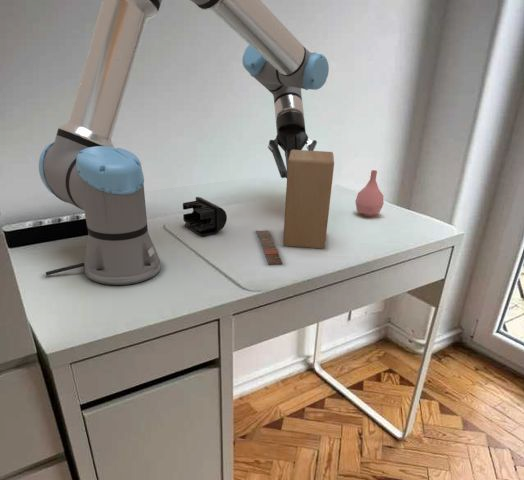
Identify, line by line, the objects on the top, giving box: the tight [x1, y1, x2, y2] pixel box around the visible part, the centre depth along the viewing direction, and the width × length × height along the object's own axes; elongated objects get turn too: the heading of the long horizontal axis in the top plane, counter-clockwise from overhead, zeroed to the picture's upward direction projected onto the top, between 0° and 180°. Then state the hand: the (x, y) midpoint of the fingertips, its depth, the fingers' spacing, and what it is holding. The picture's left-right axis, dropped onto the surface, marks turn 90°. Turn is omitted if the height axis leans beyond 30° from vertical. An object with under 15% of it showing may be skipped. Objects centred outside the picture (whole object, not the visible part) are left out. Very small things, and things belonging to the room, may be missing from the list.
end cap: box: [182, 196, 228, 238], centre depth 125 cm, size 10×7×7 cm
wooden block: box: [282, 149, 335, 249], centre depth 117 cm, size 10×10×20 cm
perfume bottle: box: [355, 169, 384, 217], centre depth 137 cm, size 8×8×12 cm
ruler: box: [256, 230, 283, 266], centre depth 118 cm, size 20×3×1 cm, turn 8°
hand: (298, 201), depth 128 cm, fingers closed
